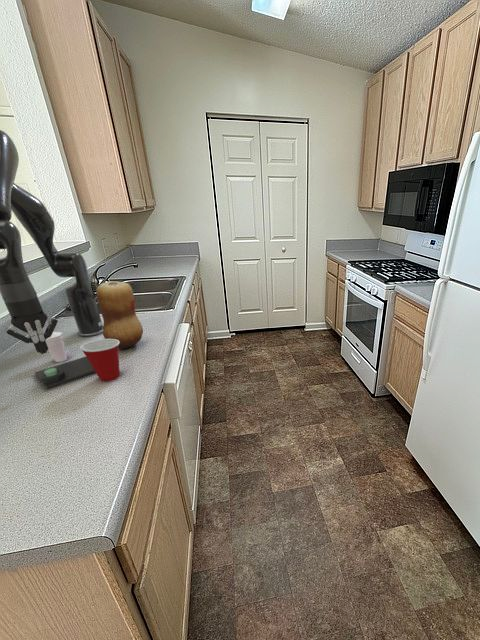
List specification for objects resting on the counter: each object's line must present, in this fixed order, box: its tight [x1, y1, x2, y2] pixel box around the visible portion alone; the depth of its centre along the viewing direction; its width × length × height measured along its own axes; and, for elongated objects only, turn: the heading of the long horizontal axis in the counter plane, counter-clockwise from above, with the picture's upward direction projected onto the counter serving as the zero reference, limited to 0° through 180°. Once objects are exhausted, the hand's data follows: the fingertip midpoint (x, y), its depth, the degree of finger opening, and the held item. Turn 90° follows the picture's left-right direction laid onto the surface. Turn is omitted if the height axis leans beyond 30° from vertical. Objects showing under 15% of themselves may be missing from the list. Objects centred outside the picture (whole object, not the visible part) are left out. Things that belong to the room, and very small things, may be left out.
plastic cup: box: [79, 338, 121, 382], centre depth 105 cm, size 11×11×12 cm
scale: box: [34, 356, 96, 391], centre depth 110 cm, size 14×16×3 cm
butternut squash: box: [96, 280, 144, 350], centre depth 124 cm, size 14×13×25 cm
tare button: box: [44, 368, 58, 377], centre depth 104 cm, size 3×3×2 cm
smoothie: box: [45, 322, 68, 363], centre depth 117 cm, size 6×6×14 cm
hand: (43, 352), depth 101 cm, fingers closed
